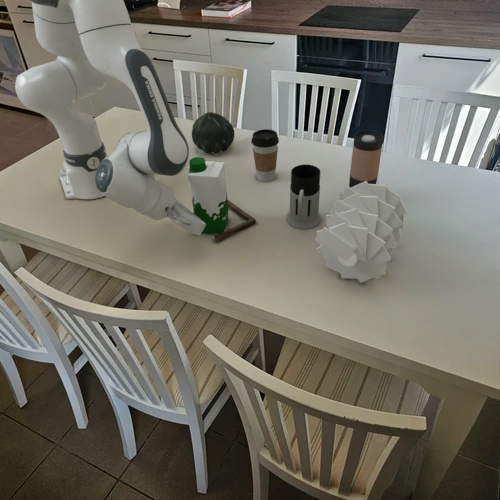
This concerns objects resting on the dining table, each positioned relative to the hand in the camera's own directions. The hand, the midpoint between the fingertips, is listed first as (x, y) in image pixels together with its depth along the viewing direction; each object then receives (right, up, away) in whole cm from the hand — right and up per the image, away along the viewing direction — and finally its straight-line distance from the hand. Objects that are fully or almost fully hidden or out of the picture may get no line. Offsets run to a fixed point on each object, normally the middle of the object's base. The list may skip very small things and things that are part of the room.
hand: (196, 219), depth 119 cm
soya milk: (+4, -2, +5) cm, 7 cm away
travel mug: (+46, +6, +12) cm, 48 cm away
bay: (+6, 0, +7) cm, 9 cm away
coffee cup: (+19, +15, +25) cm, 35 cm away
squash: (+2, +28, +43) cm, 51 cm away
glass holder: (+29, -1, +4) cm, 29 cm away
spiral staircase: (+41, -10, -8) cm, 43 cm away
